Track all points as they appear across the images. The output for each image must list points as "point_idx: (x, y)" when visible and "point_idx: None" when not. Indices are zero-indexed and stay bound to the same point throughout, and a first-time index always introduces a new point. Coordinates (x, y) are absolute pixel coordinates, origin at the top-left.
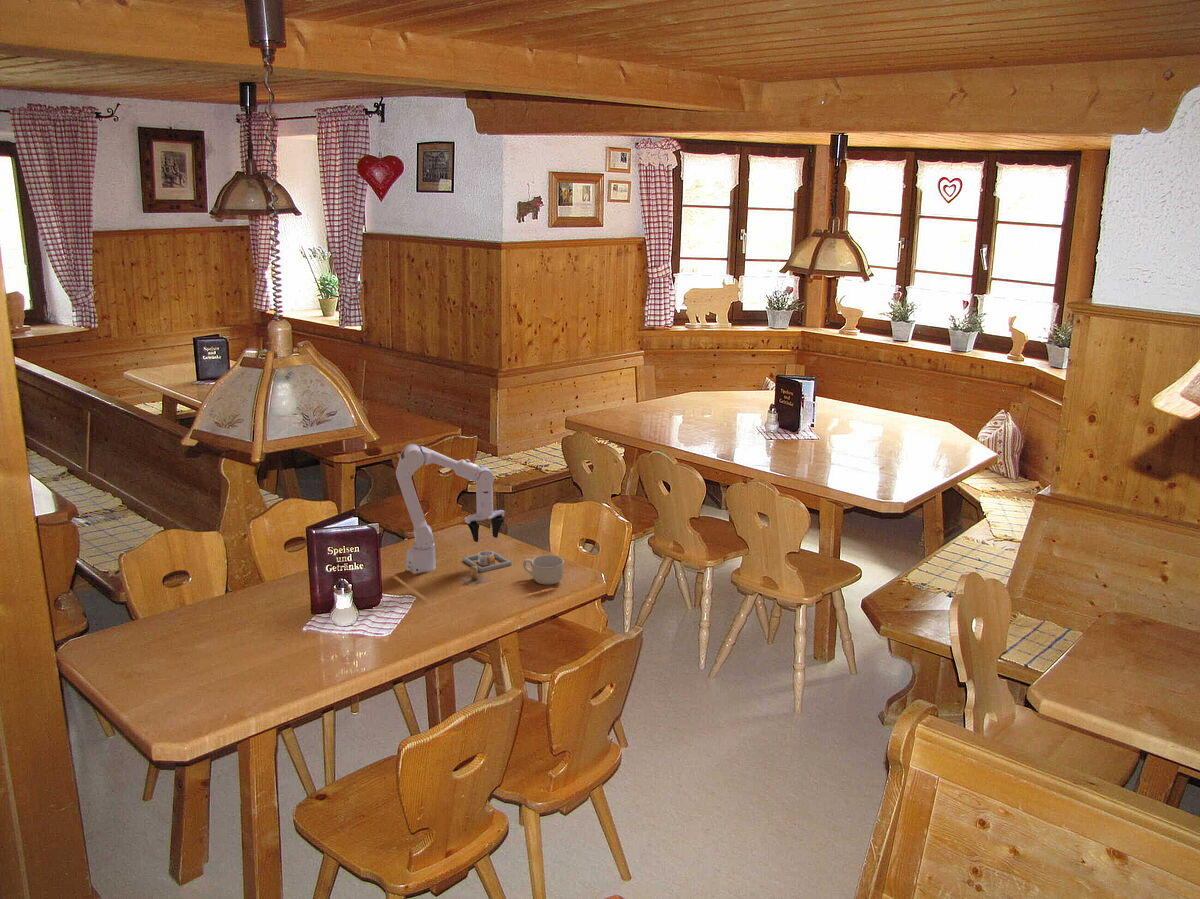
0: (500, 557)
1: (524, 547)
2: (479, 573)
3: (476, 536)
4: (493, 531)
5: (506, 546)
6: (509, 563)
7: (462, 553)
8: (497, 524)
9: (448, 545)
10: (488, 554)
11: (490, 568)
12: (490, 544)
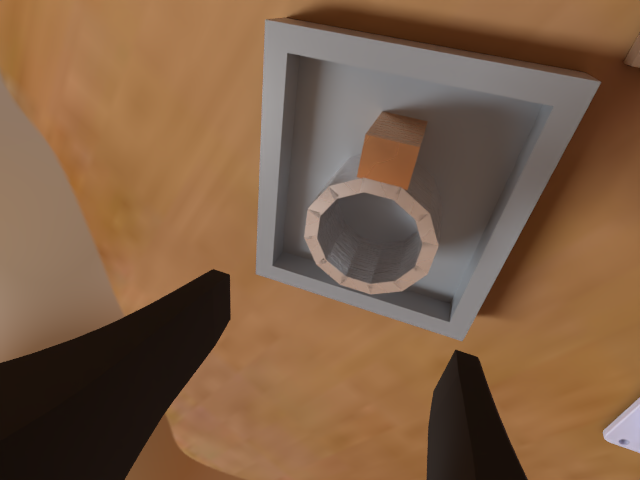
0: (280, 166)
1: (92, 211)
2: (635, 61)
3: (501, 427)
4: (196, 353)
5: (159, 280)
6: (290, 21)
7: (362, 377)
8: (76, 396)
9: (344, 448)
10: (331, 241)
11: (487, 58)
12: None
